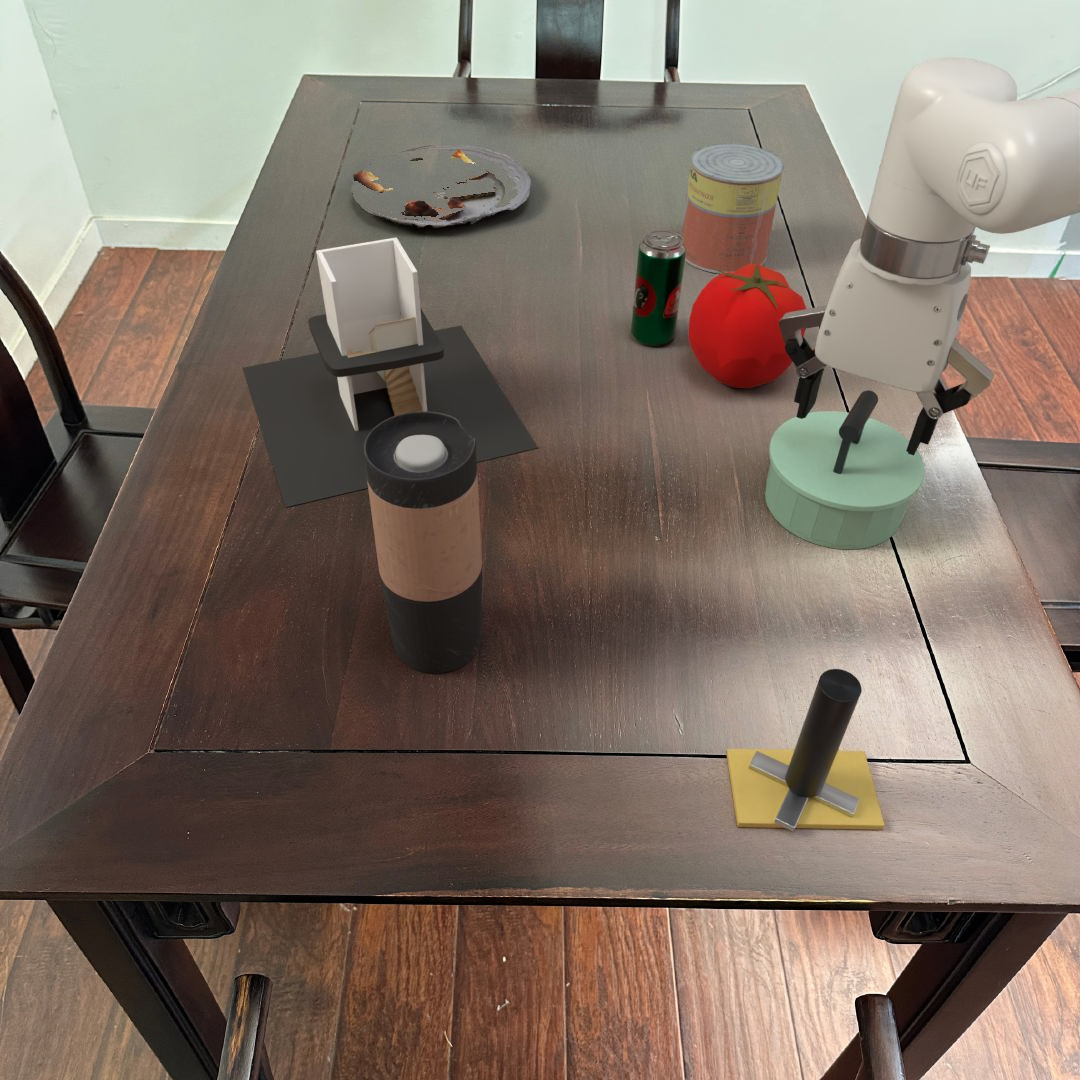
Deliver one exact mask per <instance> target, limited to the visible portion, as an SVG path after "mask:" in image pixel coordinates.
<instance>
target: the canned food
mask: <svg viewBox="0 0 1080 1080" xmlns="http://www.w3.org/2000/svg"><path fill="white" fill-rule="evenodd" d="M689 159H690V161H689V162H690V165H689V166H690V167H689V174H688V182H687V191H686V199H685V207H684V215H683V223H682V231H681V236H682V237H683V239H684V243H683V244H684V246H685V248H686V255H685V263H687V264H689V265H690V266H691V267H694V268H696V269H698V270H701V271H704V272H708V273H712V274H718V275H720V274H723V273H721V272H719V271H722V272H725V273H726V272H735V271H737V270H738V269H740V268H742V267H744V266H746V265H750V264H759V265H761V266H763V265H765V263H766V261H767V258H768V250H769V249H768V248H769V242H770V238H771V232H772V228H773V224H774V223H773V222H774V217H775V212H776V207H777V202H778V195H779V193H780V186H781V182H782V177H783V172H784V170H785V164H784V162H783V160H782V158H781V157H780V156H779V155H777V154H776V153H773V152H772V151H770V150H768V149H764V148H762V147H760V146H755V145H750V144H744V143H733V142H731V143H729V142H726V143H724V142H723V143H715V144H710V145H706V146H703V147H701V148H698V149H697V150H695V151H694V152H692V154H691V155H690V158H689ZM714 269H715V270H714ZM717 270H718V271H717Z"/></svg>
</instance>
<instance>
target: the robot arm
mask: <svg viewBox="0 0 1080 1080" xmlns="http://www.w3.org/2000/svg"><path fill="white" fill-rule="evenodd" d="M890 120H891V121H890V125H889V128H888V133H887V137H886V140H885V144H884V149H883V152H882V157H881V160H880V164H879V166H878V172H877V176H876V179H875V184H874V187H873V192H872V195H871V199H870V203H869V208H868V211H867V215H866V218H865V223H864V226H863V231H862V235H861V238H857V239H856V240H855V241H853V243H852V245H851V247H850V248H849V251H848V252H847V254H846V257H845V259H844V260H843V263H842V265H841V267H840V270H839V272H838V275H837V276H836V280H835V282H834V284H833V288H832V290H831V293H830V296H829V299H828V302H827V305H823V306H817V307H810V308H806V309H804V310H799V311H793V312H788V313H785V314H784V316H783V317H782V318H781V319H780V321H779V328H780V331H781V334H782V338H783V341H784V342H785V351H786V353H787V354H788V356H789V357H790V359H791V360H792V363H793V365H794V366H795V368H796V369H795V374H796V375H797V376H798V382H797V386H796V390H795V394H794V399H793V403H796V404H798V408H797V412H796V416H795V417H797V418H800V419H803V418H806V416H807V415H808V413H811V410H812V409H813V408H814V406H815V404H816V401H817V398H818V394H819V390H820V386H821V382H822V378H823V374H824V370H825V368H826V367H827V366H828V367H830V368H832V369H835V370H838V371H841V372H844V373H848V374H851V375H854V376H857V377H860V378H864V379H867V380H870V381H873V382H877V383H879V384H883V385H887V386H890V387H893V388H897V389H899V390H904V391H907V392H912V393H916V396H917V397H918V399H919V401H920V403H921V405H922V408H921V410H920V412H919V414H918V416H917V418H916V421H915V424H914V426H913V429H912V433H911V436H910V439H909V444H908V447H907V450H906V452H908V454H910V455H913V456H914V454H915V452H916V451H917V450H919V446H920V445H921V444H924V445H926V446H928V445H929V444H930V442H931V440H932V437H933V434H934V432H935V429H936V427H937V424H938V421H939V419H940V418H942V416H943V415H944V414H947V413H949V412H952V411H954V410H957V409H960V408H962V407H965V406H967V405H968V404H969V402H970V401H972V400H973V399H974V398H976V397H978V395H980V394H981V393H982V392H984V391H985V390H986V389H987V388H989V387H990V386H991V384H992V381H993V380H994V377H995V373H994V371H992V369H990V367H988V366H987V365H986V364H984V363H983V362H982V361H981V360H980V359H978V357H976V355H974V354H973V353H971V352H970V350H968V349H967V348H966V347H964V346H963V344H961V343H960V342H959V341H958V340H957V338H958V336H959V332H960V329H961V325H962V323H963V317H964V314H965V310H966V305H967V302H968V296H969V292H970V285H971V277H972V267H971V265H970V264H973V263H978V264H981V265H982V264H983V265H984V263H985V261H986V259H987V256H988V254H989V251H990V247H991V245H989V244H985V243H981V240H977V239H976V238H977V235H975V230H976V228H977V229H979V230H981V231H984V232H988V233H991V234H998V235H1000V234H1001V235H1005V234H1015V233H1019V232H1024V231H1026V230H1029V229H1032V228H1033V229H1034V228H1036V227H1039V226H1042V225H1045V224H1049V223H1052V222H1056V221H1058V220H1061V219H1063V218H1066V217H1070V216H1072V215H1076V214H1079V213H1080V88H1076V89H1071V90H1069V91H1064V92H1061V93H1057V94H1053V95H1049V96H1045V97H1041V98H1031V99H1022V100H1021V99H1019V100H1018V86H1017V83H1016V81H1015V79H1014V77H1013V76H1012V75H1011V74H1010V73H1009V72H1008V71H1006V70H1005V69H1003V68H1001V67H999V66H997V65H994V64H992V63H989V62H986V61H983V60H978V59H973V58H966V57H939V58H931V59H927V60H924V61H922V62H919V63H918V64H916V65H915V66H913V67H912V68H911V69H910V70H909V71H908V72H907V74H906V75H905V76H904V78H903V80H902V82H901V83H900V88H899V90H898V94H897V97H896V101H895V105H894V109H893V112H892V117H891V119H890ZM818 327H819V330H818V333H817V337H816V341H815V346H814V348H813V349H812V348H811V346H810V344H809V342H808V341H807V340H806V338H805V336H802V335H801V329H806V330H807V329H810V328H811V329H813V328H818ZM948 365H950V366H951V367H952V368H953V369H954V370H956V371H957V372H958V373H959V374H960V375H961V376H962V377H964V378H965V380H966V381H964V382H963V383H960V384H957V385H954V386H953V387H950V388H948V387H947V385H946V383H945V381H944V379H943V377H942V374H943V372H945V371H946V369H947V367H948Z"/></svg>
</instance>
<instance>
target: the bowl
mask: <svg viewBox="0 0 1080 1080" xmlns="http://www.w3.org/2000/svg"><path fill="white" fill-rule="evenodd" d="M764 499H765V503H766V506H767V508H768V511H769V512H770V513H771V516H773V518H774V520H776V522H778V523H779V524H780V525H781V526H782V527H783V528H784V529H786V531H788V532H790V533H792V534H793V535H794V536H796V537H798V538H800V539H802V540H804V541H807V542H809V543H812V544H814V545H818V546H821V547H826V548H830V549H831V548H832V549H838V550H860V549H866V548H872V547H875V546H877V545H881V544H882V543H884V542H886V541H887V540H889V539H890V538H891V537H892V536H894V534H895V533H897V531H898V529H899V528H900V527H901V523H902V521H903V519H904V517H905V516H906V515H905V514H906V512H907V509H908V507H909V504H910V501H911V499H912V498H910V499H909V500H908V501H906V502H904V503H902V504H900V505H898V506H895V507H892V508H889V509H884V510H878V511H850V510H843V509H838V508H834V507H830V506H827V505H823V504H820V503H818V502H815V501H813V500H811V499H809V498H807V497H805V496H803V495H801V494H800V493H798V492H796V491H795V490H793V489H792V488H791V487H790V486H788V485H787V484H786V483H785V482H784V481H783V480H782V479H781V478H780V477H779V475H778V474H777V473H776V471H775V470H774V468H773V466H772V463H771V462H770V464H769V468H768V472H767V476H766V480H765V489H764Z"/></svg>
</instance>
